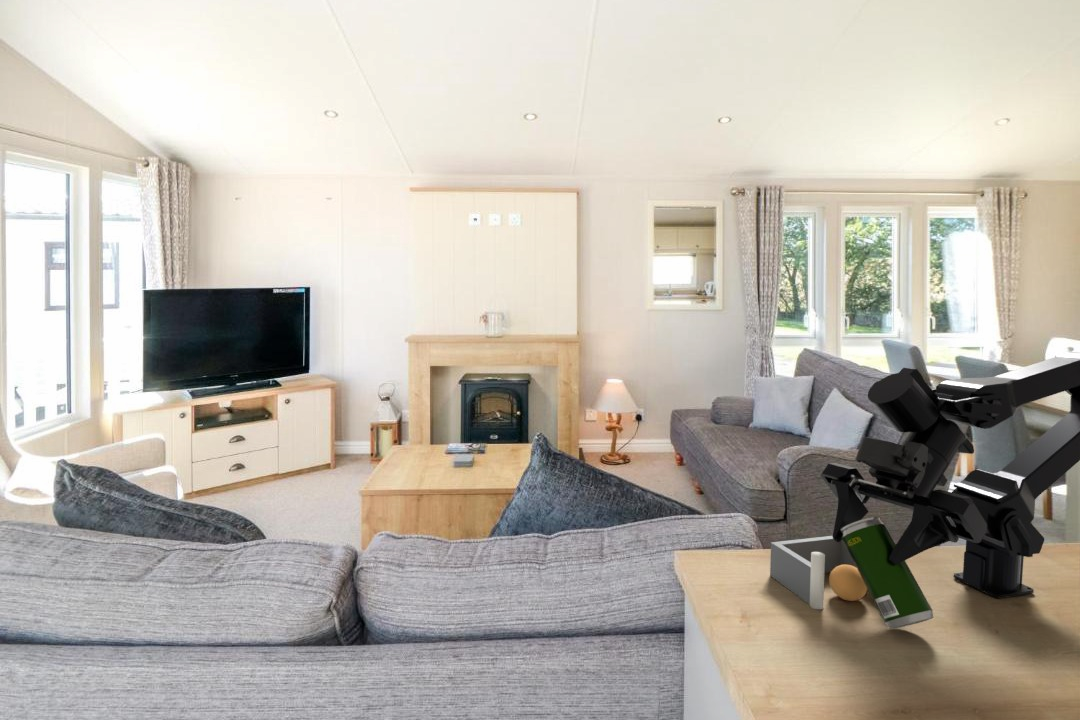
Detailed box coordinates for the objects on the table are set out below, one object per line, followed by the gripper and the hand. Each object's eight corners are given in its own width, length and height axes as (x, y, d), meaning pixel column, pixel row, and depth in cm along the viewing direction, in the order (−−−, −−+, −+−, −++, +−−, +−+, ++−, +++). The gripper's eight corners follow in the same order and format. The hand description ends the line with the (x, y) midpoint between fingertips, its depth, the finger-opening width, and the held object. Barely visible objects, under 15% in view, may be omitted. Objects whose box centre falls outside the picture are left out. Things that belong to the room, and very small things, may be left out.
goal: (842, 566, 85) (844, 521, 85) (897, 598, 76) (899, 547, 75) (768, 576, 82) (769, 529, 82) (815, 610, 73) (817, 557, 72)
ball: (881, 589, 73) (863, 604, 76) (861, 556, 76) (844, 572, 79) (852, 594, 72) (835, 608, 75) (832, 560, 75) (816, 576, 78)
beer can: (920, 619, 63) (864, 516, 70) (878, 631, 67) (829, 532, 74) (945, 615, 66) (889, 515, 73) (904, 627, 70) (855, 531, 76)
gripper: (832, 405, 81) (771, 490, 77) (978, 428, 64) (909, 538, 60) (867, 456, 84) (811, 539, 81) (1014, 490, 67) (951, 597, 63)
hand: (861, 550), depth 71 cm, fingers closed on beer can, 7 cm apart
